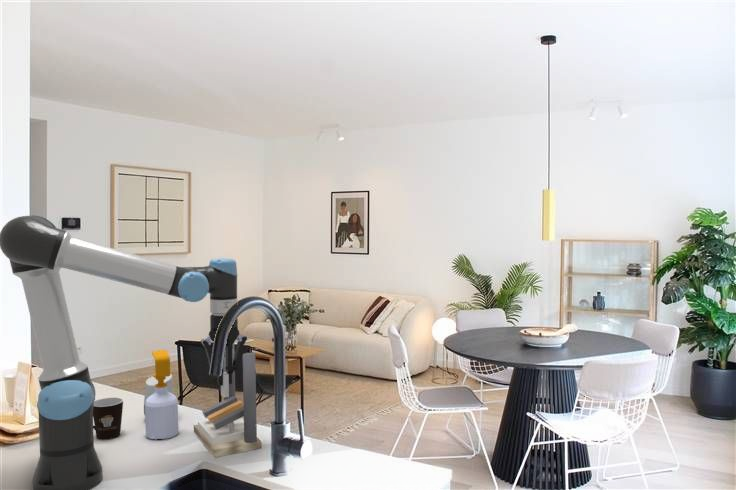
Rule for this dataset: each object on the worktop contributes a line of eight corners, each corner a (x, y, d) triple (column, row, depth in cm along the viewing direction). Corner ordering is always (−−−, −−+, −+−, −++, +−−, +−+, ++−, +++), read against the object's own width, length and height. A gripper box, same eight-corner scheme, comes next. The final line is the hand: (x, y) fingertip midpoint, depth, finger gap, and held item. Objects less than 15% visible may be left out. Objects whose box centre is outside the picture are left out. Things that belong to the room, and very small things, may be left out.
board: (214, 457, 162) (214, 449, 162) (193, 431, 181) (193, 425, 181) (261, 447, 168) (261, 440, 168) (236, 424, 187) (236, 417, 187)
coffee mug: (129, 430, 182) (128, 397, 182) (115, 441, 174) (113, 406, 173) (92, 429, 183) (91, 396, 183) (76, 440, 175) (74, 406, 174)
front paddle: (216, 429, 166) (214, 424, 166) (214, 427, 168) (212, 422, 168) (250, 412, 171) (248, 407, 170) (247, 410, 173) (245, 405, 173)
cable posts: (246, 443, 166) (244, 356, 165) (222, 419, 185) (221, 341, 184) (258, 441, 168) (257, 354, 166) (233, 417, 187) (232, 340, 186)
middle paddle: (211, 423, 171) (209, 418, 171) (208, 421, 173) (207, 416, 173) (244, 407, 176) (242, 402, 175) (241, 405, 178) (239, 400, 177)
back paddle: (206, 418, 176) (204, 413, 175) (203, 415, 178) (202, 411, 178) (238, 402, 180) (236, 397, 180) (235, 400, 182) (233, 395, 182)
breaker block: (212, 445, 165) (211, 427, 165) (198, 428, 178) (197, 411, 178) (255, 437, 171) (254, 419, 171) (238, 421, 184) (238, 405, 184)
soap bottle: (173, 427, 185) (171, 346, 184) (182, 436, 178) (180, 352, 176) (142, 433, 180) (140, 350, 179) (150, 442, 173) (147, 356, 171)
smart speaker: (137, 421, 191) (136, 376, 190) (161, 413, 199) (160, 370, 198) (158, 426, 186) (156, 381, 185) (181, 418, 194) (180, 374, 193)
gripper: (204, 317, 166) (205, 403, 167) (250, 313, 173) (251, 396, 174) (197, 313, 173) (198, 396, 174) (242, 309, 179) (243, 389, 180)
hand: (224, 395), depth 174 cm, fingers closed
